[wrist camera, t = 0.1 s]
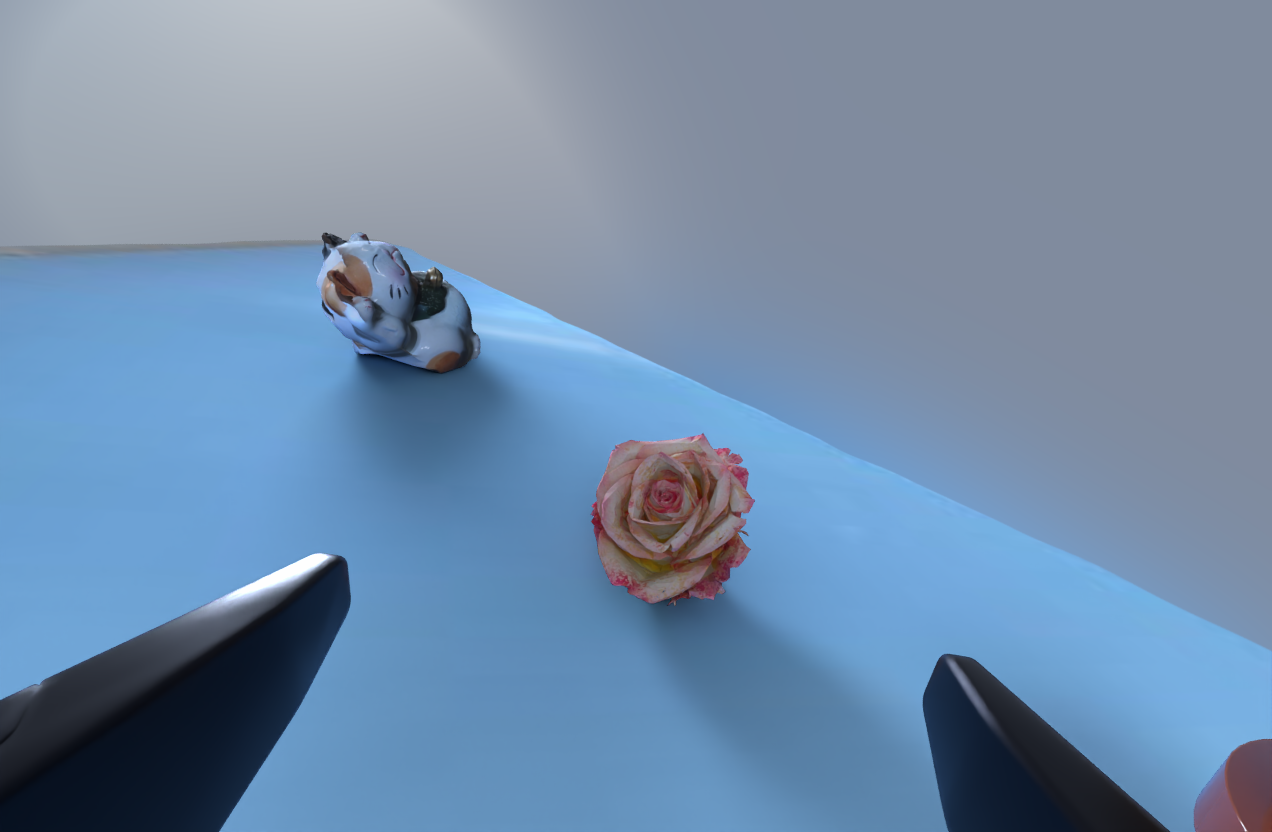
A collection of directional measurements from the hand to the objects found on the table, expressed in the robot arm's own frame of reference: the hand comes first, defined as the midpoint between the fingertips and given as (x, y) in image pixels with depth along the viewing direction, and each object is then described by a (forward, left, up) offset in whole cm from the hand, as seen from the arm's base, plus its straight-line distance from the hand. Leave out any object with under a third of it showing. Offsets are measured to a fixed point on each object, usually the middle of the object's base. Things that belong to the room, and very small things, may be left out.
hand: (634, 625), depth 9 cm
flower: (+22, -1, -17) cm, 27 cm away
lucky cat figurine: (+50, +27, -17) cm, 59 cm away
